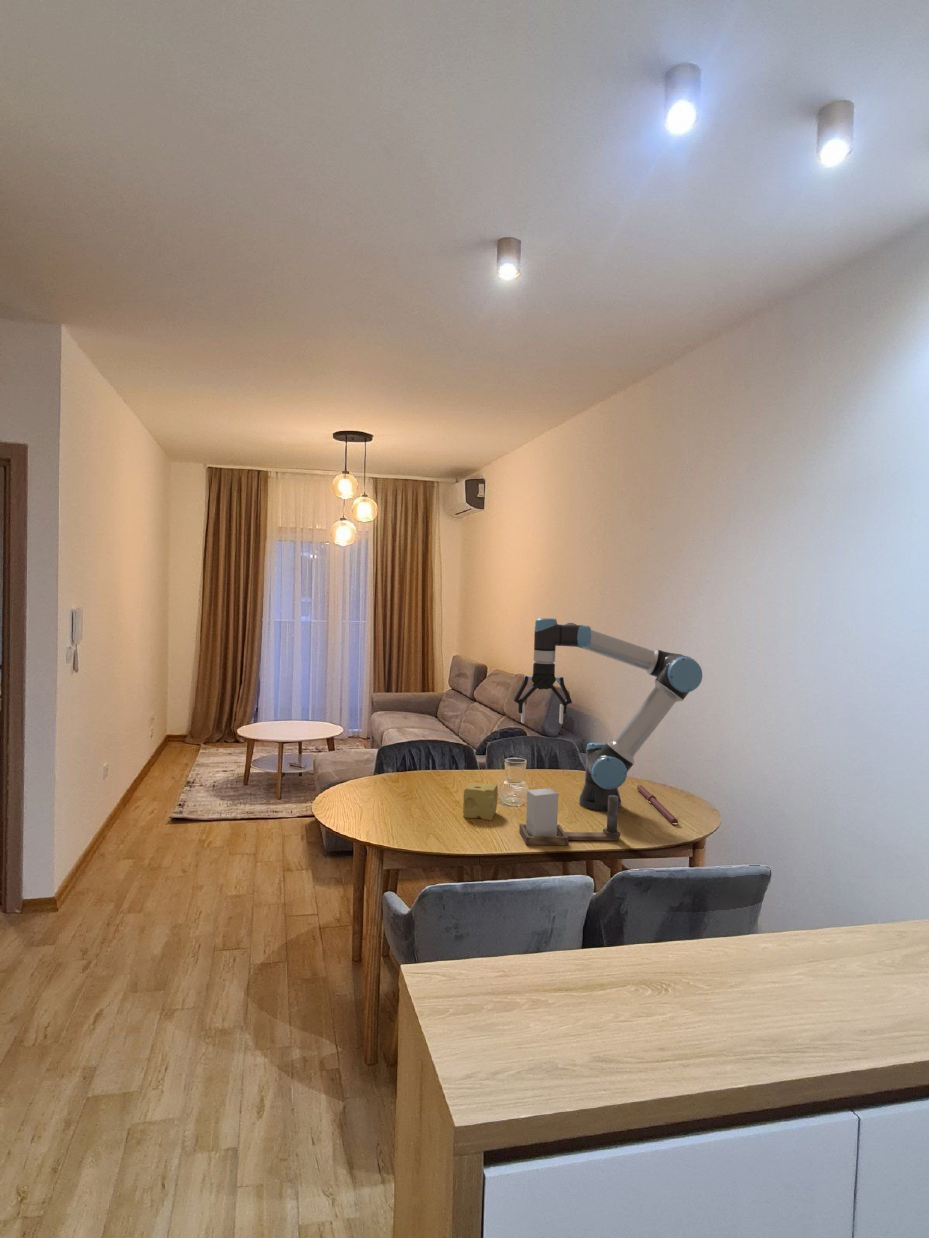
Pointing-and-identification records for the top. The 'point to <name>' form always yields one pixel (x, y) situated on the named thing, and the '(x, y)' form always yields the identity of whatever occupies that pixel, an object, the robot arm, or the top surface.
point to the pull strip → (563, 838)
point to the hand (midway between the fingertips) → (541, 723)
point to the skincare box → (542, 812)
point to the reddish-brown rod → (657, 804)
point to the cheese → (480, 801)
